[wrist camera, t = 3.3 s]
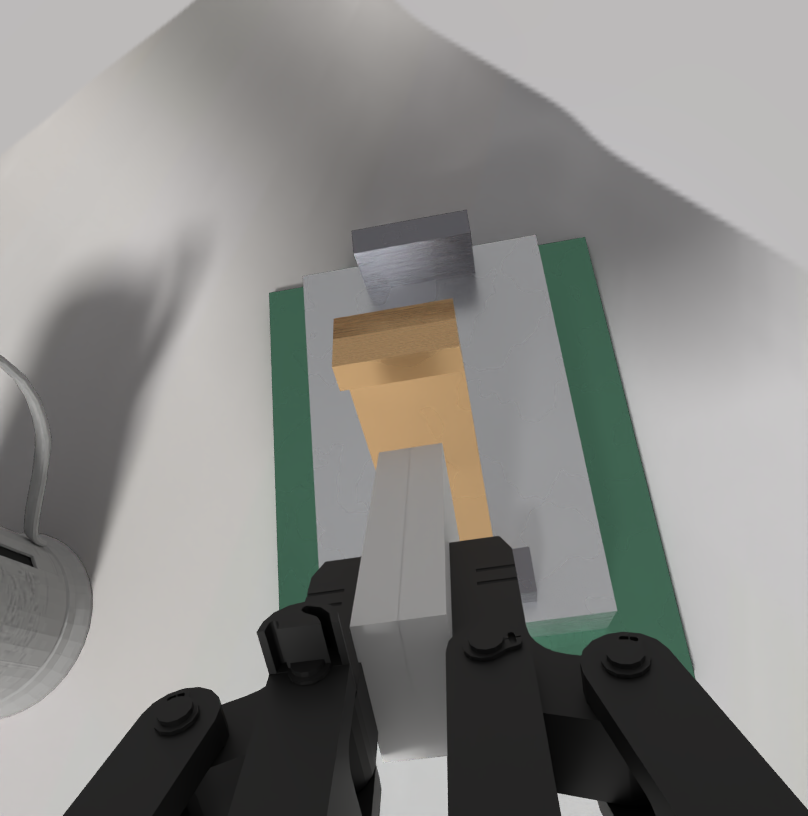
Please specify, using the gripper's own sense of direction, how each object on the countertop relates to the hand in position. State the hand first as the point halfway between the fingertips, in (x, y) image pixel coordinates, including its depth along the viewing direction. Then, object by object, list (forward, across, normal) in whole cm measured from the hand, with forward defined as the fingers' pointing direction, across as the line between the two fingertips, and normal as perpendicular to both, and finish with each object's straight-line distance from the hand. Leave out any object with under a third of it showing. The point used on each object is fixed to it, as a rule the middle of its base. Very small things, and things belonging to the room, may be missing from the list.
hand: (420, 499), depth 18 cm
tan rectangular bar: (+6, 0, -2) cm, 6 cm away
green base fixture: (+17, 0, -7) cm, 18 cm away
